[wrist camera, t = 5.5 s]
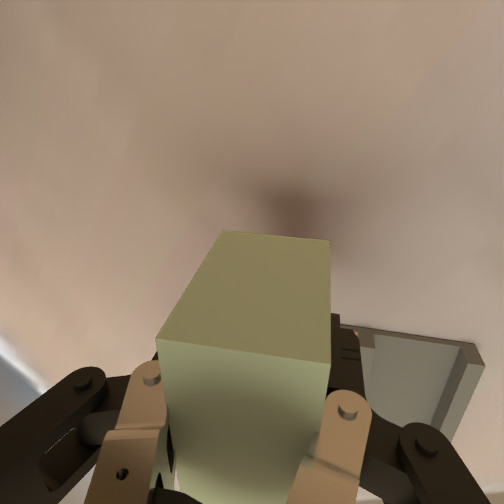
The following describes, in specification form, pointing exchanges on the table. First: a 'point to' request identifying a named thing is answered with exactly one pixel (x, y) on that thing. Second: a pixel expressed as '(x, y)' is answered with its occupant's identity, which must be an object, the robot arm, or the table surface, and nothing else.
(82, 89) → the table surface
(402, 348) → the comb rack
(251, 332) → the plug
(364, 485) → the robot arm
